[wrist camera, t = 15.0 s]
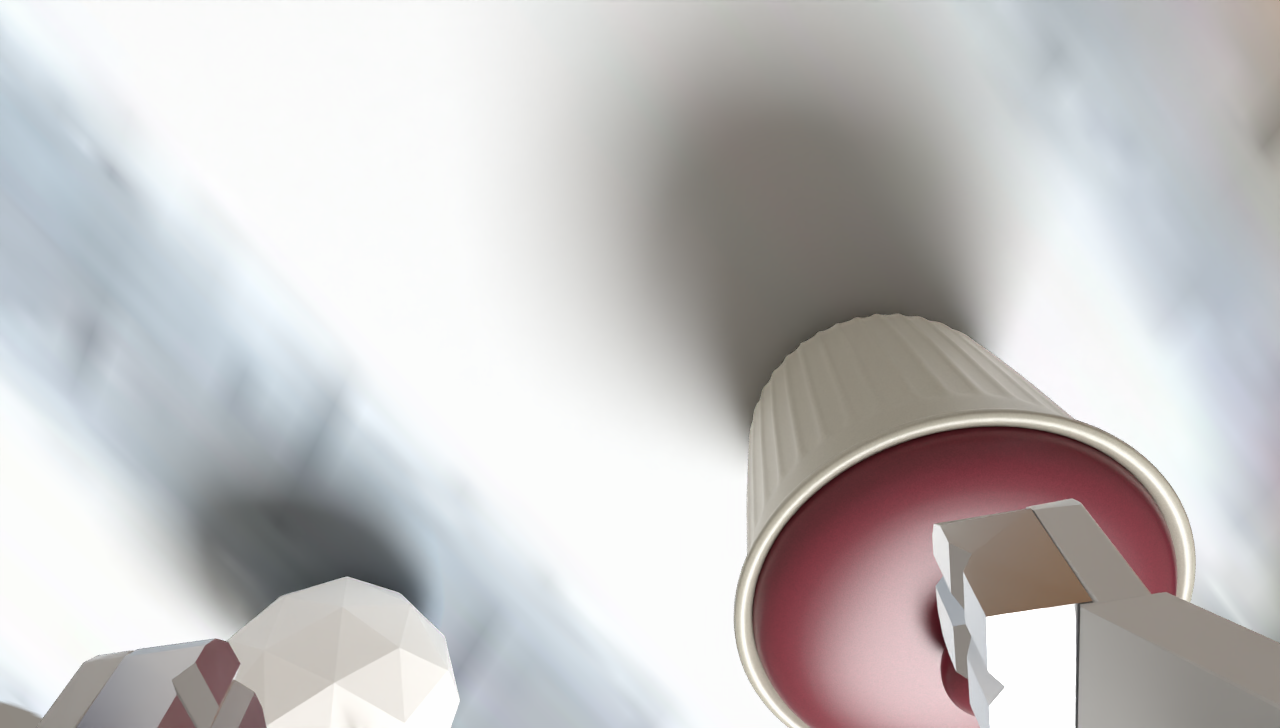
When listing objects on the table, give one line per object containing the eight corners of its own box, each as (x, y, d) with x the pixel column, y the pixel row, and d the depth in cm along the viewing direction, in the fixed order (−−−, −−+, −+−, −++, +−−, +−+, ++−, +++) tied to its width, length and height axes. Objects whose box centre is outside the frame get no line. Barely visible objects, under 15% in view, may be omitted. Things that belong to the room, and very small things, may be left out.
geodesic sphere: (337, 511, 48) (160, 778, 41) (548, 645, 52) (421, 909, 45) (277, 545, 59) (131, 757, 52) (453, 652, 63) (340, 863, 56)
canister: (656, 489, 54) (669, 804, 35) (791, 206, 47) (899, 409, 28) (931, 579, 57) (1080, 913, 38) (1098, 326, 50) (1385, 583, 31)
